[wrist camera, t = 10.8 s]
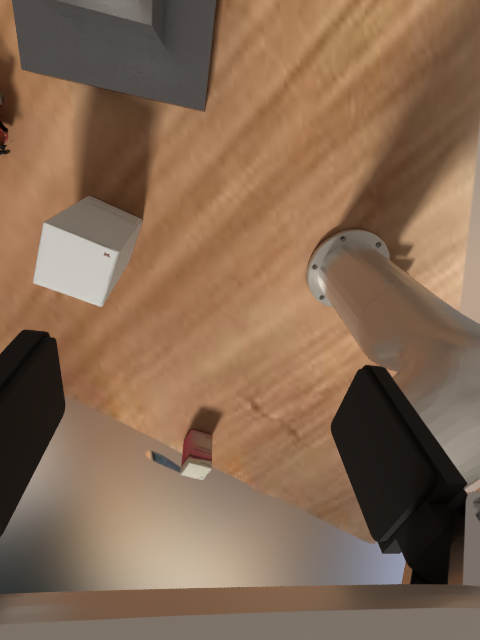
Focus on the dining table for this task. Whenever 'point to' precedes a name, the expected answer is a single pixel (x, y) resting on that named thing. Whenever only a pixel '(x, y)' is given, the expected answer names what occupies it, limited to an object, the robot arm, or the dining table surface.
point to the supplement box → (86, 250)
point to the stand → (121, 45)
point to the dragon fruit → (3, 131)
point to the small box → (197, 455)
